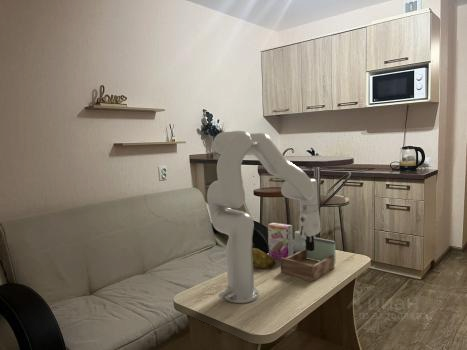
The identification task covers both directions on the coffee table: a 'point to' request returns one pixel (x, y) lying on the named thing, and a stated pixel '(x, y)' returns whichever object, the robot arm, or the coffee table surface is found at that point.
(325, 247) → the panel
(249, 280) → the robot arm
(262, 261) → the potato
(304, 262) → the brown wooden tray
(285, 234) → the candy bar box
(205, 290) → the coffee table surface
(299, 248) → the air freshener
